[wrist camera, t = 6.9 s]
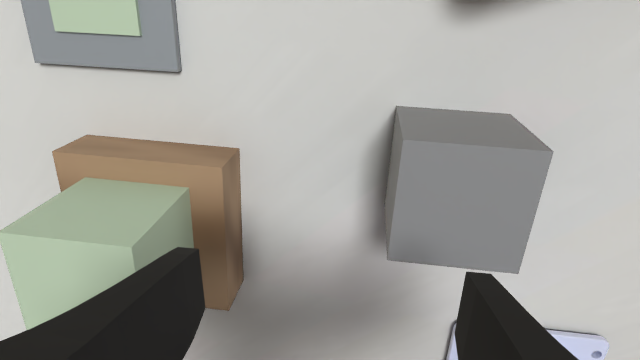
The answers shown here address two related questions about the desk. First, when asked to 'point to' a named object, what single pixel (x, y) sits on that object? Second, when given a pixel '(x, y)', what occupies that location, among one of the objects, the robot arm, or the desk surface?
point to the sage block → (91, 241)
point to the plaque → (104, 33)
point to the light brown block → (183, 171)
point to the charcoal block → (462, 188)
